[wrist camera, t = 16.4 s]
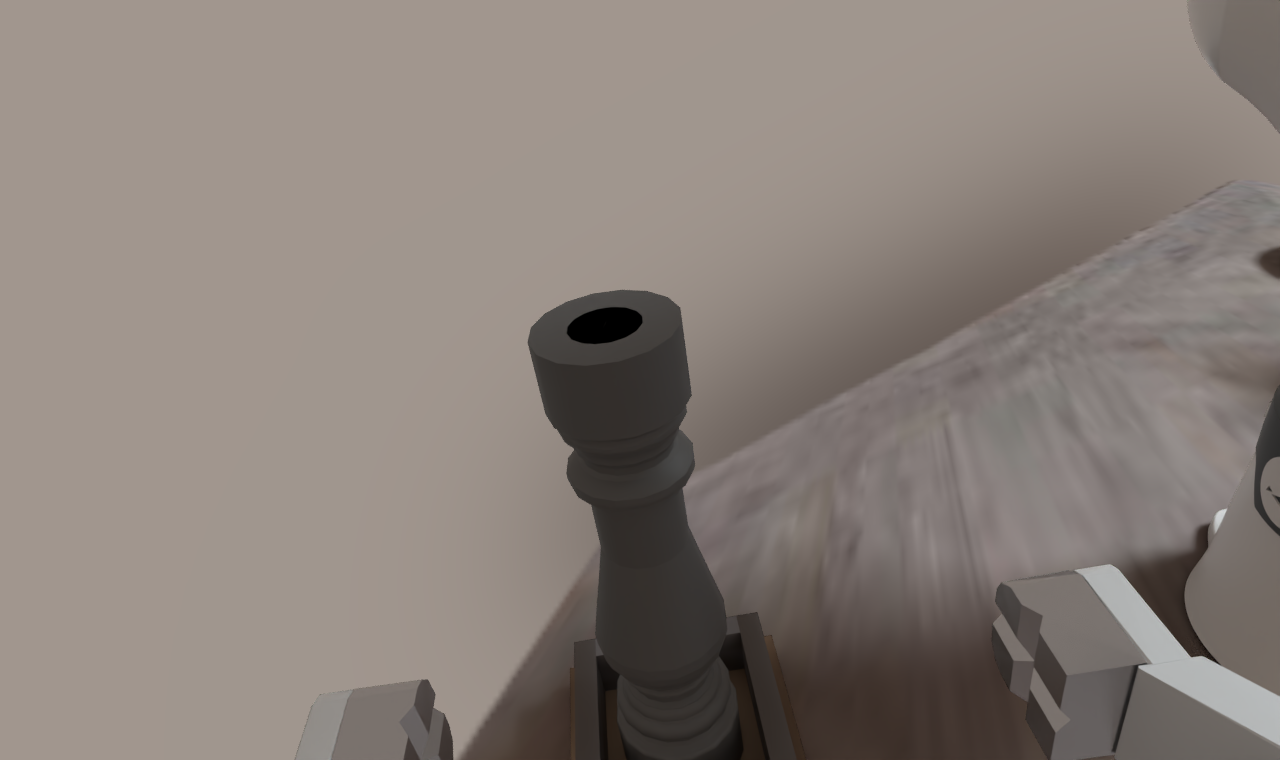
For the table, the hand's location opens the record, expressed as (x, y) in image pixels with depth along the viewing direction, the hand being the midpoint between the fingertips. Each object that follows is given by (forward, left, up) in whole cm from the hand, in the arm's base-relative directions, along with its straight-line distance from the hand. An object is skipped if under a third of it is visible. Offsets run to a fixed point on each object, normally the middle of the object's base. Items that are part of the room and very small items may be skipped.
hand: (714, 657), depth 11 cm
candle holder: (+2, -18, -29) cm, 34 cm away
